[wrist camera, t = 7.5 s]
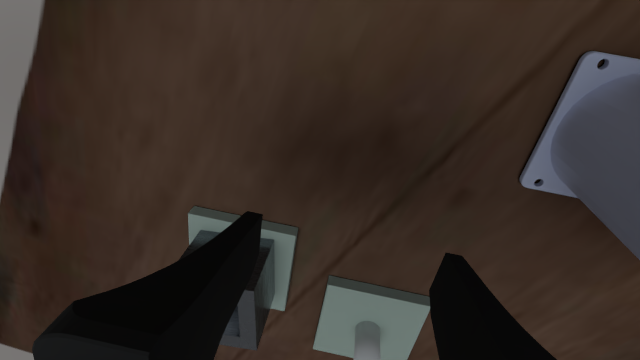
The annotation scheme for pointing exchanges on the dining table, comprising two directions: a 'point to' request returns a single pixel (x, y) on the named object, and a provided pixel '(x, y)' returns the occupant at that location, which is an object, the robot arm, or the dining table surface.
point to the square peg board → (369, 320)
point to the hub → (247, 296)
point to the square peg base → (269, 230)
